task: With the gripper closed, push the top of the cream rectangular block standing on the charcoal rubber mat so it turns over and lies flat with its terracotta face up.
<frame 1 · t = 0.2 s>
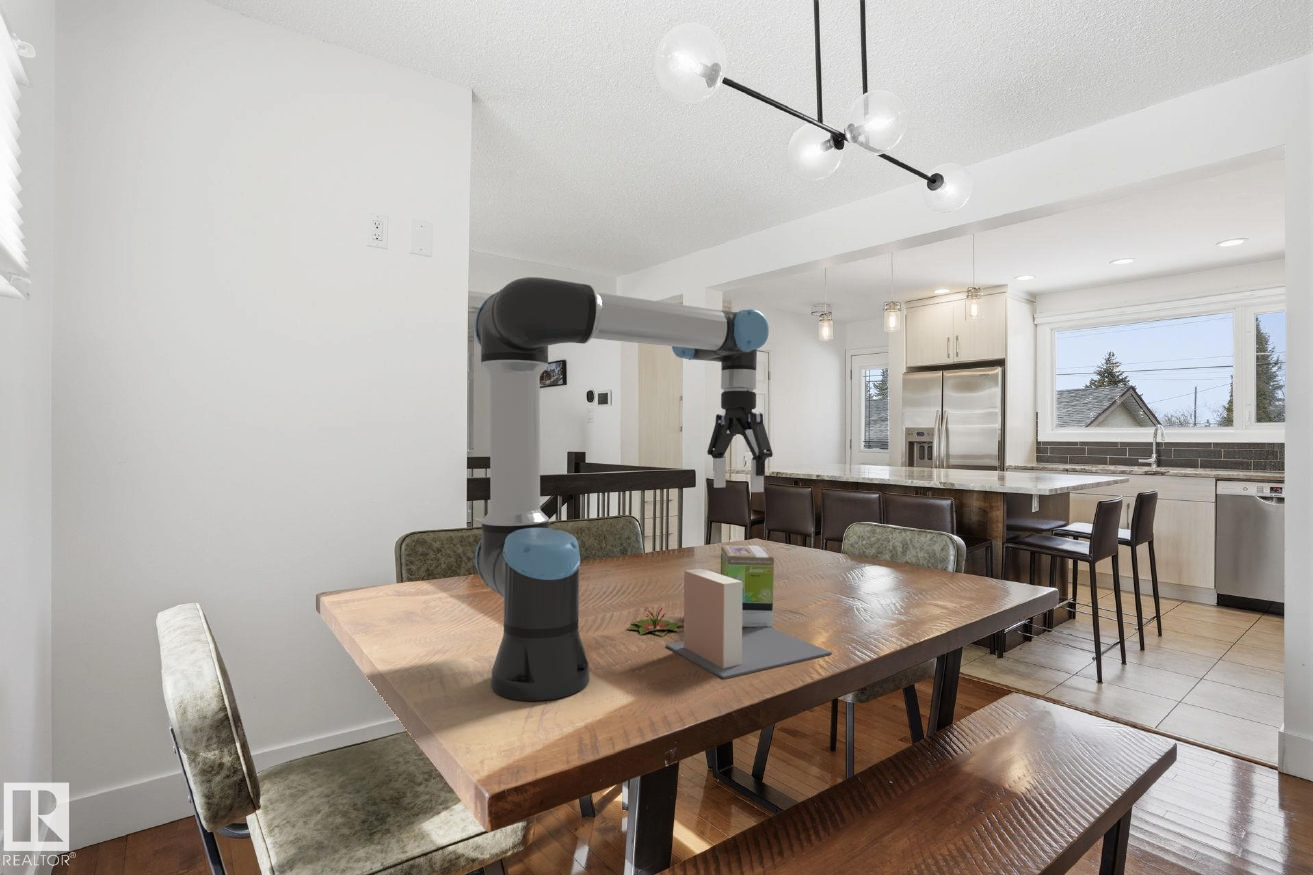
hand: (737, 489, 134), 28 cm above the table, tool pointing down, fingers open, 13 cm apart
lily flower: (654, 631, 127), on the table
cream rectangular block: (711, 655, 109), resting on mat
tea box: (745, 618, 135), on the table
mat: (747, 650, 113), on the table
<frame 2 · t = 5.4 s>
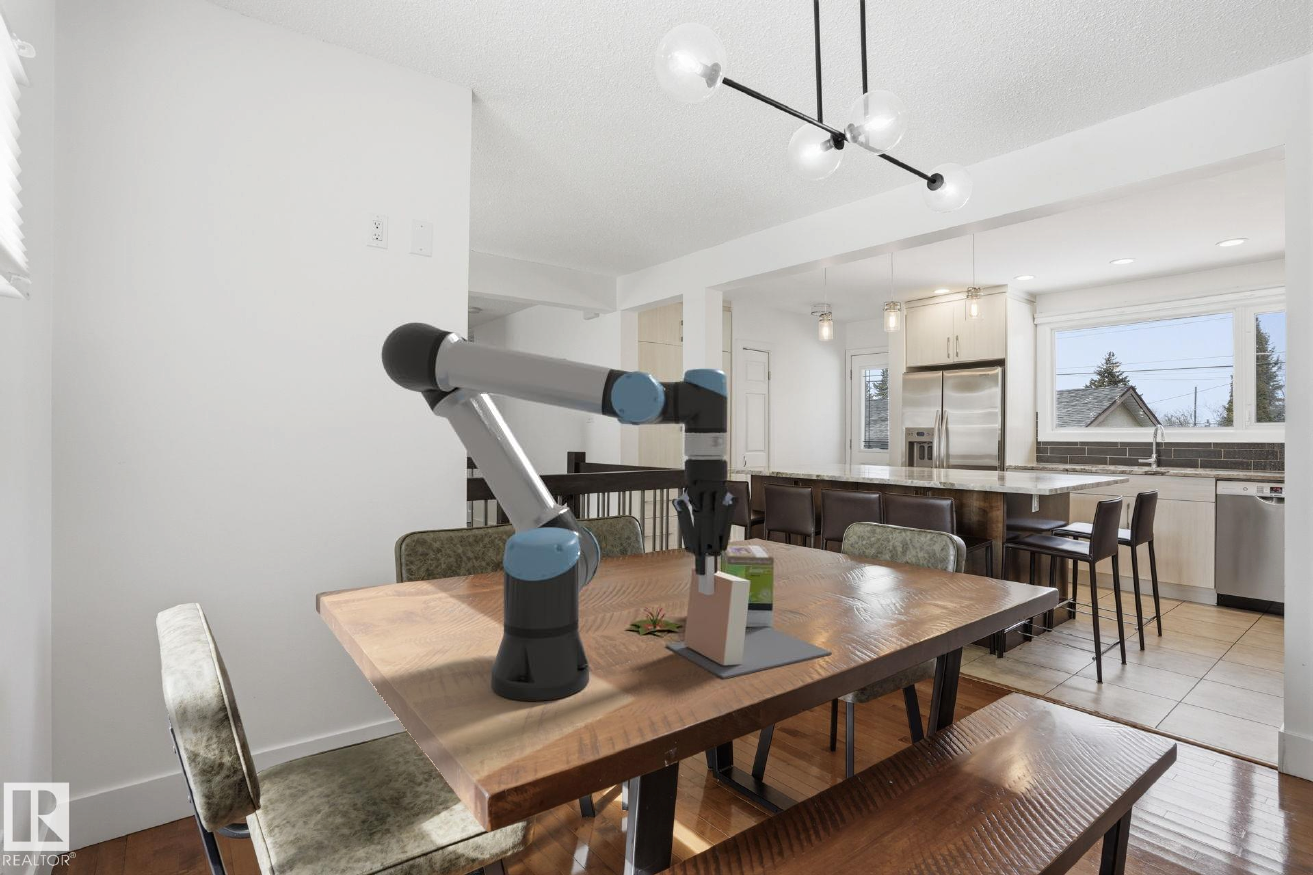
hand: (706, 592, 109), 12 cm above the table, tool pointing down, fingers closed
cream rectangular block: (711, 653, 109), point 1 cm above the table, tilted 7°, touching mat
everything else where it was.
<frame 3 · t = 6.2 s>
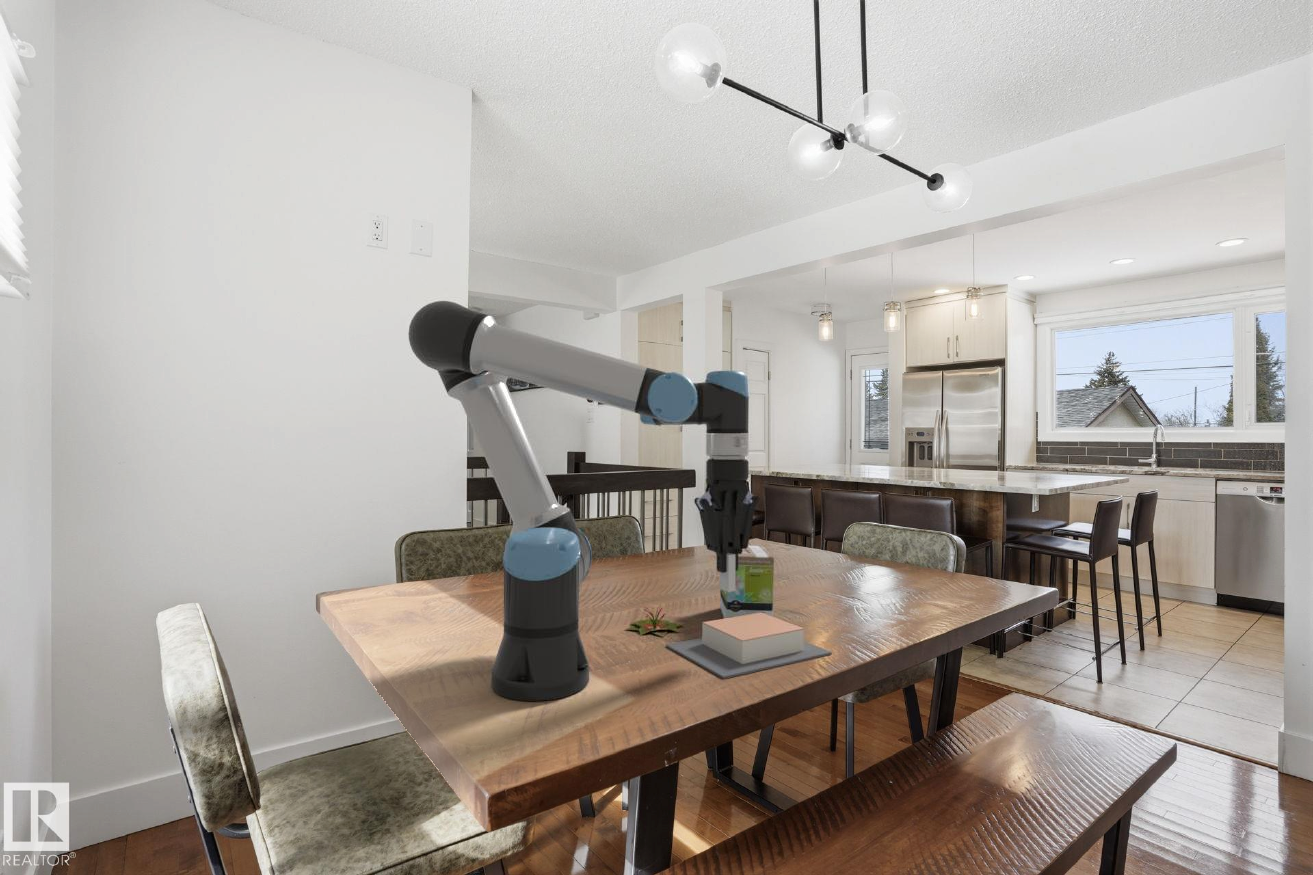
hand: (727, 589, 111), 12 cm above the table, tool pointing down, fingers closed
cream rectangular block: (721, 642, 111), point 2 cm above the table, tilted 90°, touching mat
everything else where it was.
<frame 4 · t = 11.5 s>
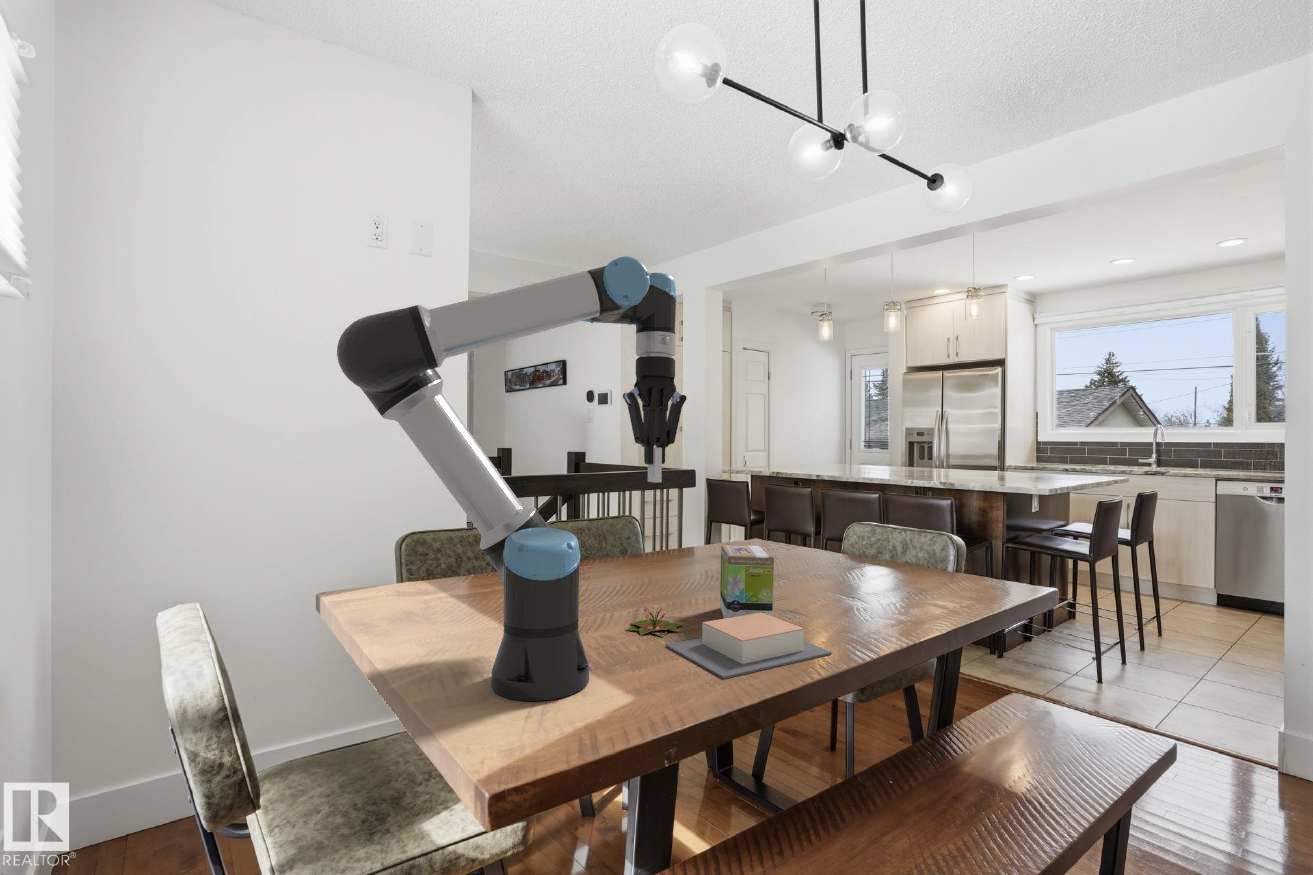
hand: (654, 481, 117), 30 cm above the table, tool pointing down, fingers closed
nothing on the table moved.
at the end: cream rectangular block tilted 90°; cream rectangular block inside the target area (2.4 cm from its centre), point 2.4 cm above the table; cream rectangular block touching mat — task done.
